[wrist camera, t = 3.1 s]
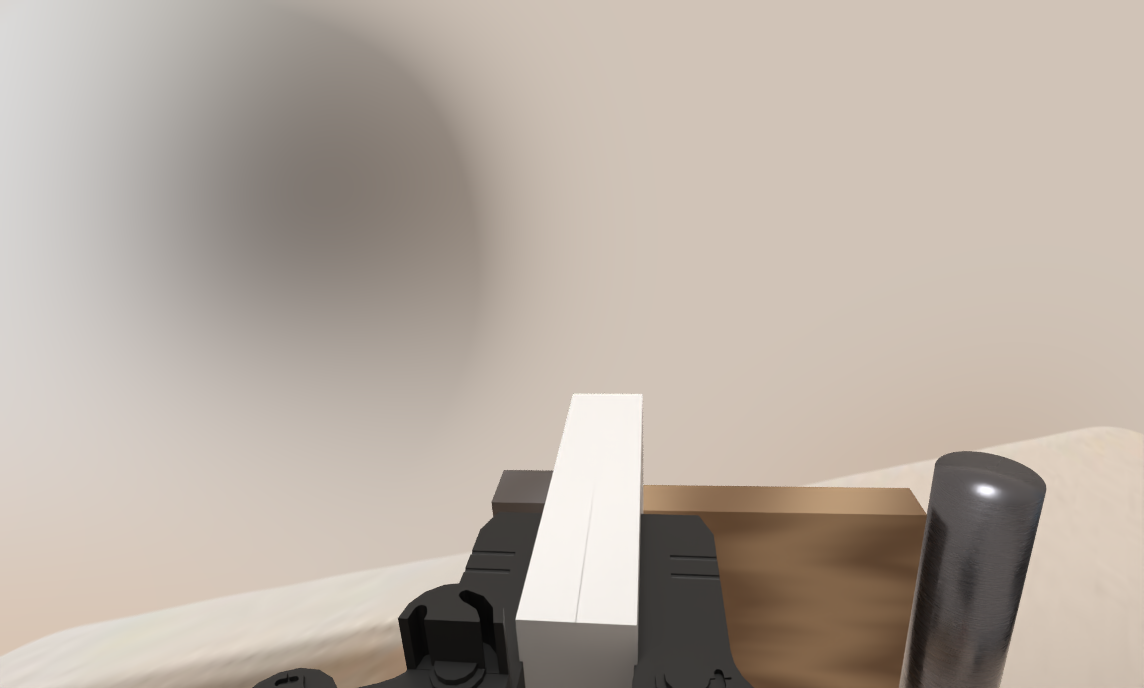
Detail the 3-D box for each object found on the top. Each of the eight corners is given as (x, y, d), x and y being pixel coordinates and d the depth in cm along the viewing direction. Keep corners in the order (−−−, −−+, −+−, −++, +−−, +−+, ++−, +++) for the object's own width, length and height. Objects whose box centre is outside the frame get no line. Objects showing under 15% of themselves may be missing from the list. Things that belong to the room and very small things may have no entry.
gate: (864, 770, 27) (908, 474, 22) (880, 820, 25) (931, 509, 20) (535, 749, 29) (503, 470, 24) (527, 794, 27) (491, 502, 22)
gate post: (868, 721, 30) (912, 414, 25) (1021, 801, 27) (1115, 462, 21) (819, 827, 26) (859, 488, 20) (993, 941, 22) (1101, 564, 17)
